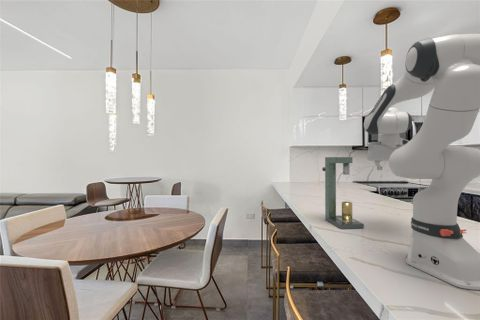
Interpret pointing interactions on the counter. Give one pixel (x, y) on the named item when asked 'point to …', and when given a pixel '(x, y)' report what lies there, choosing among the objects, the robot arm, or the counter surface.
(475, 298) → the counter surface
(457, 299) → the counter surface
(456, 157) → the robot arm
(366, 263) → the counter surface
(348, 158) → the press
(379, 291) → the counter surface
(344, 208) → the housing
